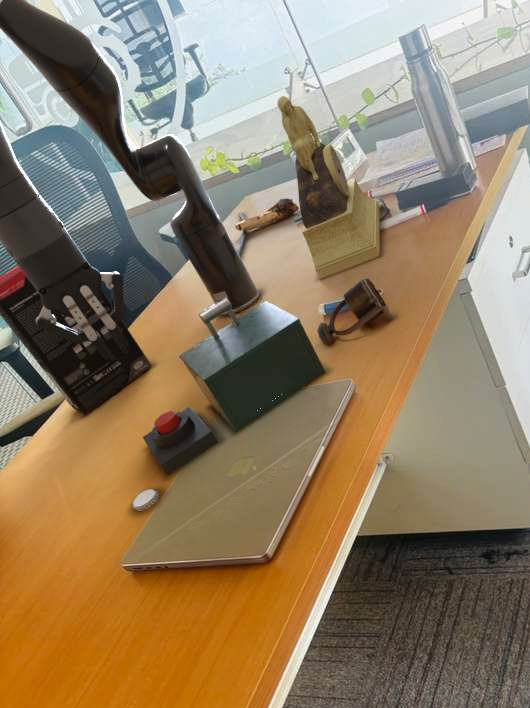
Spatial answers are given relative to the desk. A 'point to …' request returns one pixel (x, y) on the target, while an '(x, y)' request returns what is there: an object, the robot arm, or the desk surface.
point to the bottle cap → (145, 499)
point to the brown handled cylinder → (356, 309)
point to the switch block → (180, 441)
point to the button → (167, 422)
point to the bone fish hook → (270, 215)
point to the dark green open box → (263, 378)
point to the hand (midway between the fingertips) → (119, 354)
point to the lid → (236, 338)
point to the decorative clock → (329, 200)
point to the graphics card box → (70, 346)
